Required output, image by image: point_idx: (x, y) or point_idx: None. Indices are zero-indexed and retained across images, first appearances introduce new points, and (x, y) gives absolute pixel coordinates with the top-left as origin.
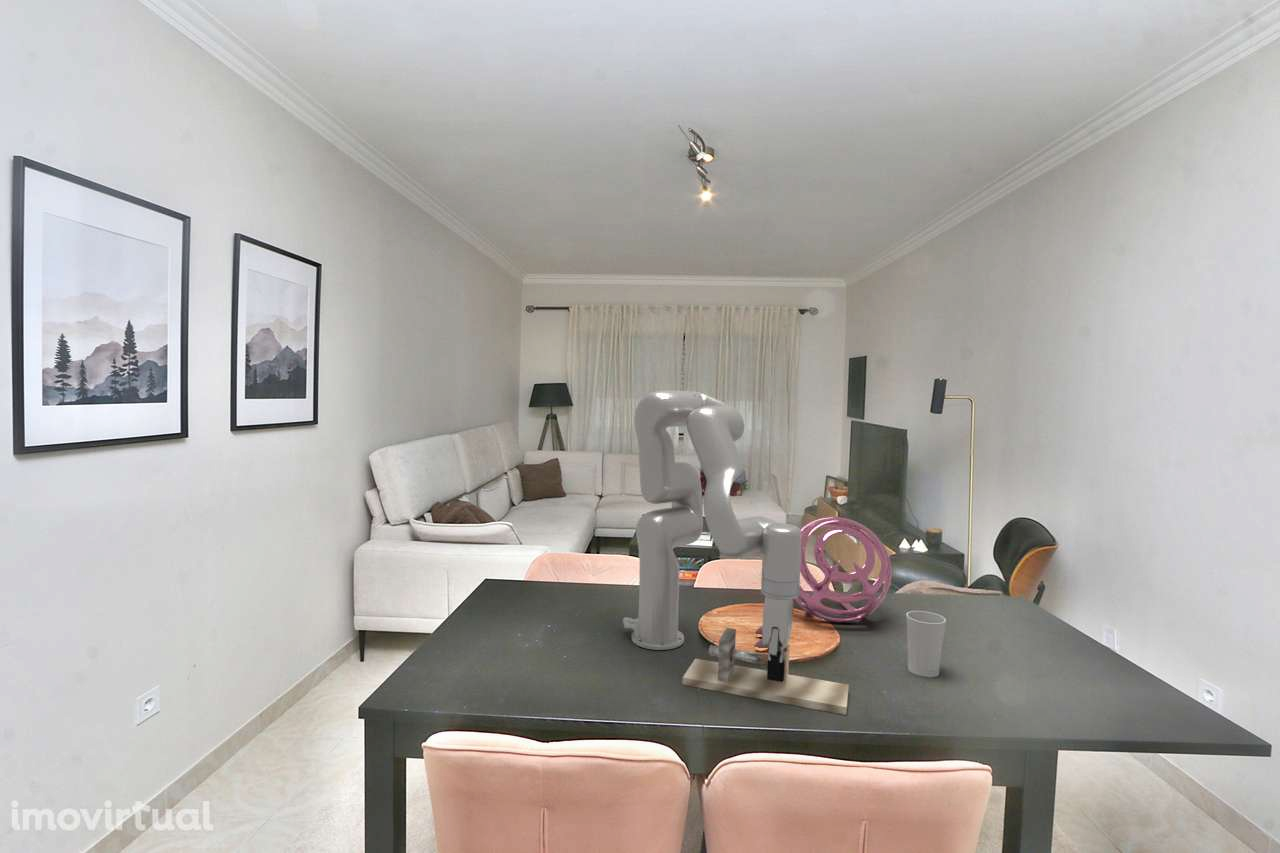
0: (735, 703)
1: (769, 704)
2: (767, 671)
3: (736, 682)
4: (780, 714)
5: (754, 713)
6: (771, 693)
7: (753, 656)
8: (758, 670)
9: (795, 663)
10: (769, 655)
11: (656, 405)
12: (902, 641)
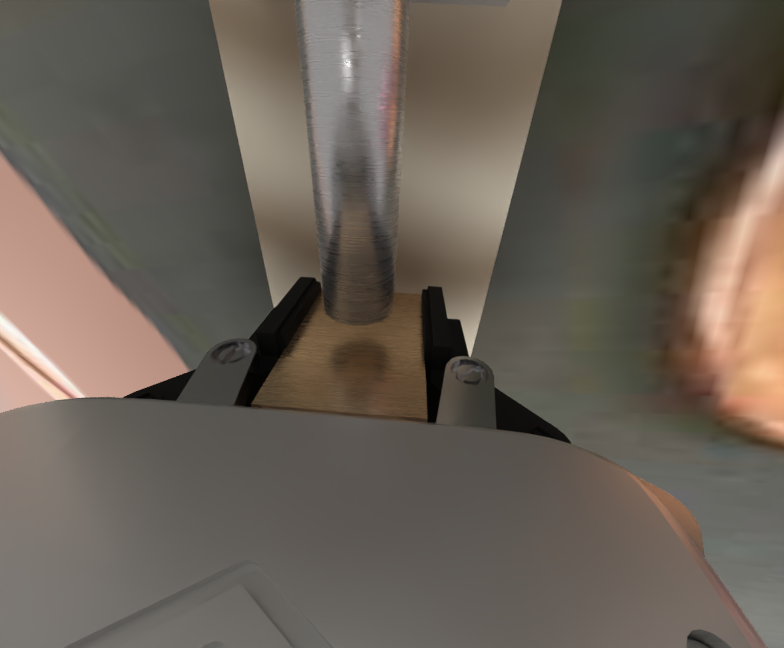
0: (163, 110)
1: (253, 264)
2: (288, 293)
3: (287, 76)
4: (209, 303)
5: (147, 215)
6: (269, 281)
7: (317, 210)
8: (495, 197)
9: (654, 336)
10: (198, 374)
11: None
12: (773, 550)
